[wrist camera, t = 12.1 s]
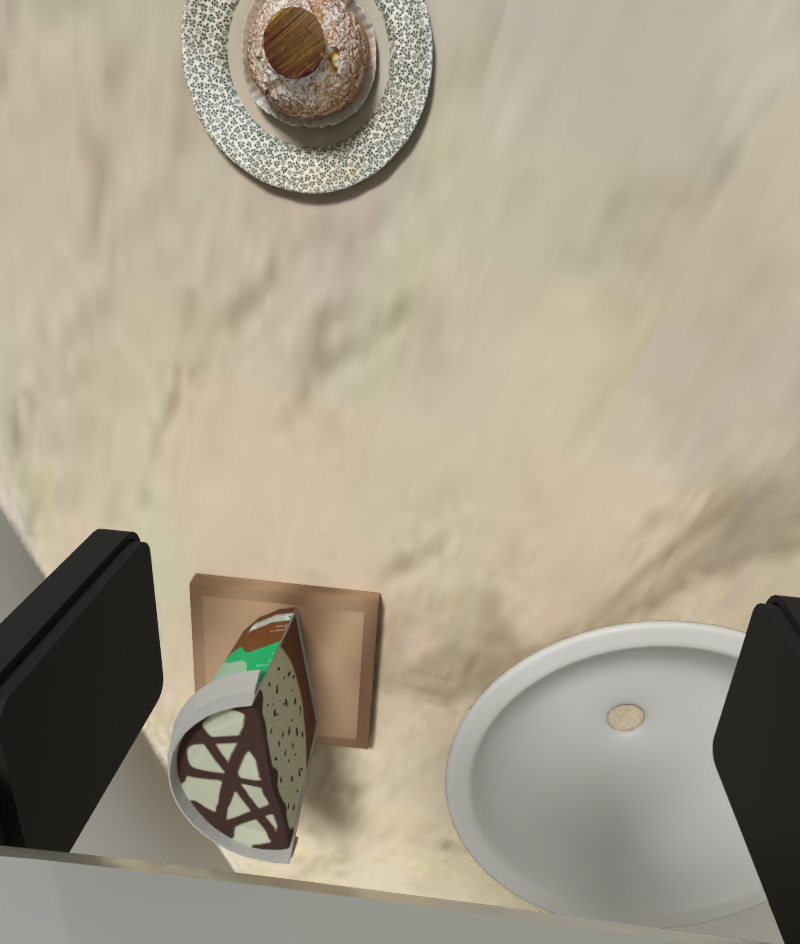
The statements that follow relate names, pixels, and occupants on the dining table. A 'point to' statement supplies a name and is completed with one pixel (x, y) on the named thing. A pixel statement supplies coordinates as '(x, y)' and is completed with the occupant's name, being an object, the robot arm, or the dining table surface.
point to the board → (324, 635)
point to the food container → (249, 743)
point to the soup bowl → (607, 778)
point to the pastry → (308, 84)
